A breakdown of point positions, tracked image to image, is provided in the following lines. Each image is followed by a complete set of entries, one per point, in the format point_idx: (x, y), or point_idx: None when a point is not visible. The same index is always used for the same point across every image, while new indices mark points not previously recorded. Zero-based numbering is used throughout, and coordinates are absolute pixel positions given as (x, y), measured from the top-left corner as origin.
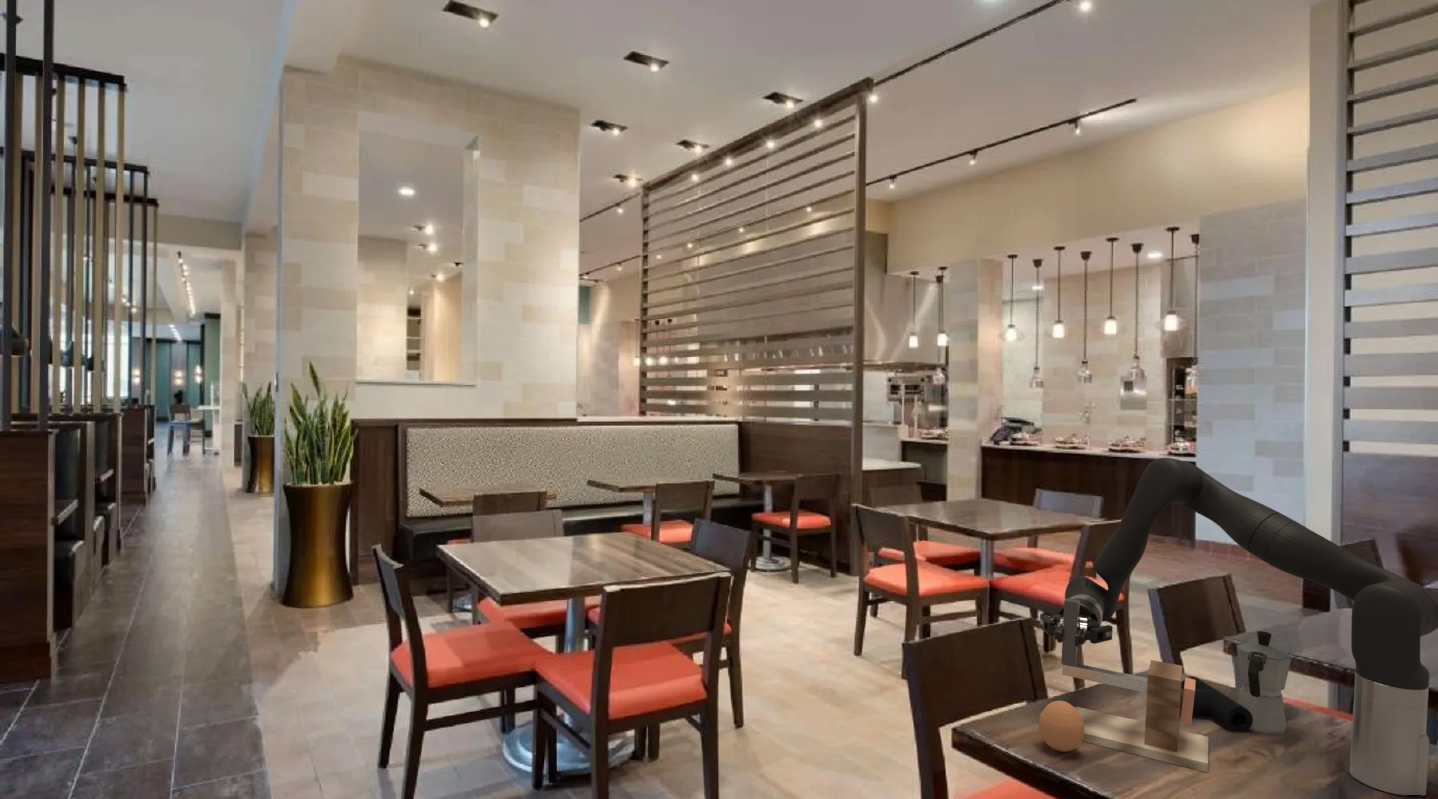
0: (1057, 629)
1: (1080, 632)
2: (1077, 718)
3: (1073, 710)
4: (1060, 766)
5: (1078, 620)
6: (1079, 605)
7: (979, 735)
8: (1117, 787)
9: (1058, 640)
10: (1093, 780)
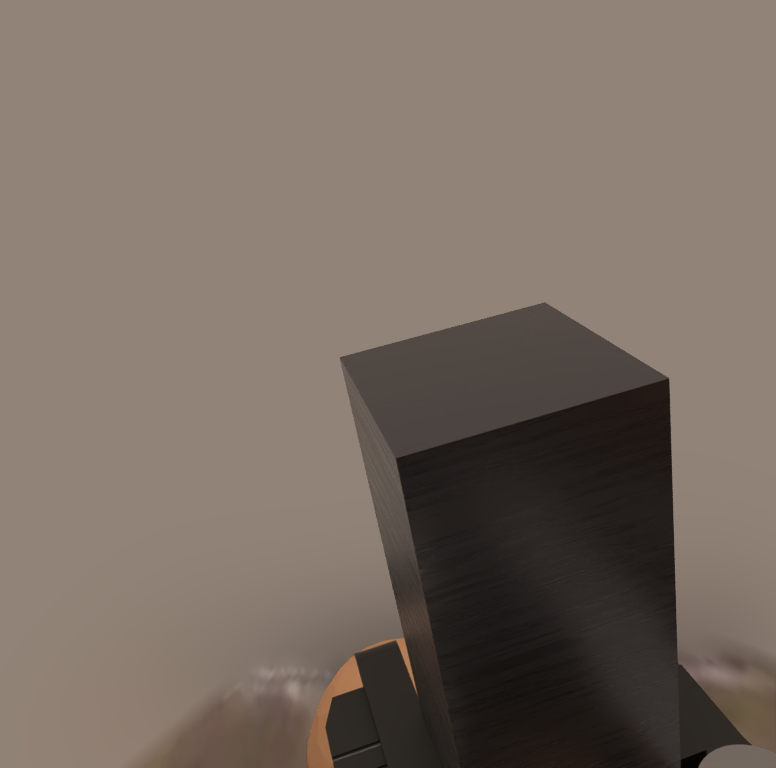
0: (681, 696)
1: (382, 737)
2: (318, 707)
3: (334, 686)
4: None
5: (433, 701)
6: (400, 518)
7: (701, 668)
8: (173, 740)
9: None
10: (249, 717)
